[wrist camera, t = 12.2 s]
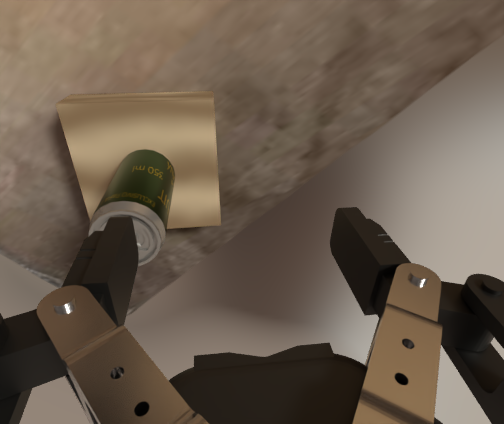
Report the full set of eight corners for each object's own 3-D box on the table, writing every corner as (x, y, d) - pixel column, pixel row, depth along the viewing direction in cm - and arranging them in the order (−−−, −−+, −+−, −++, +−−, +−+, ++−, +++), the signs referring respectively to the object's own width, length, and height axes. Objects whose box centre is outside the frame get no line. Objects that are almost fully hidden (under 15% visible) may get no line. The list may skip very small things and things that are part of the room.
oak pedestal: (70, 94, 33) (55, 104, 29) (212, 91, 34) (213, 99, 31) (103, 214, 40) (94, 233, 37) (219, 207, 42) (220, 225, 38)
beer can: (124, 195, 35) (92, 271, 25) (117, 145, 32) (77, 208, 22) (177, 195, 36) (166, 268, 25) (174, 146, 33) (161, 207, 23)
